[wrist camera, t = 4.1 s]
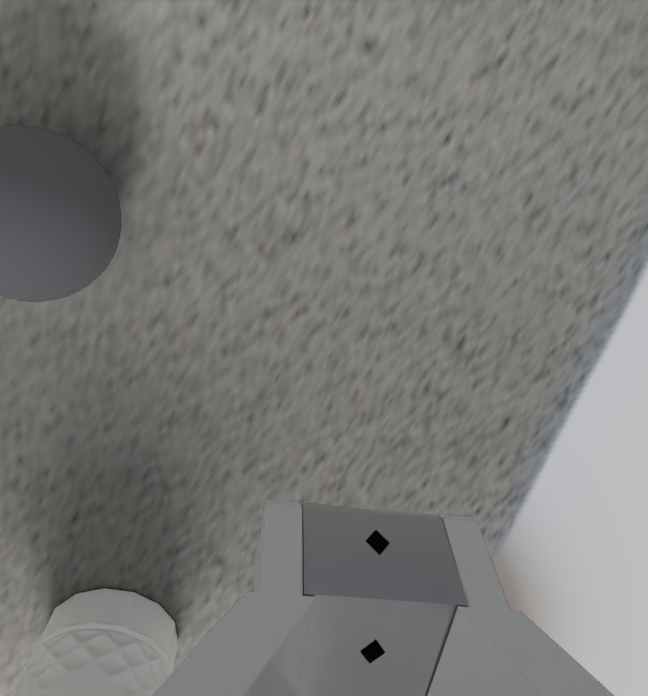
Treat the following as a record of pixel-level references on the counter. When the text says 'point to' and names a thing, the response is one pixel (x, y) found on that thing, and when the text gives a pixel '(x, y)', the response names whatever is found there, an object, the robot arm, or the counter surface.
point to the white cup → (101, 648)
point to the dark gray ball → (52, 215)
